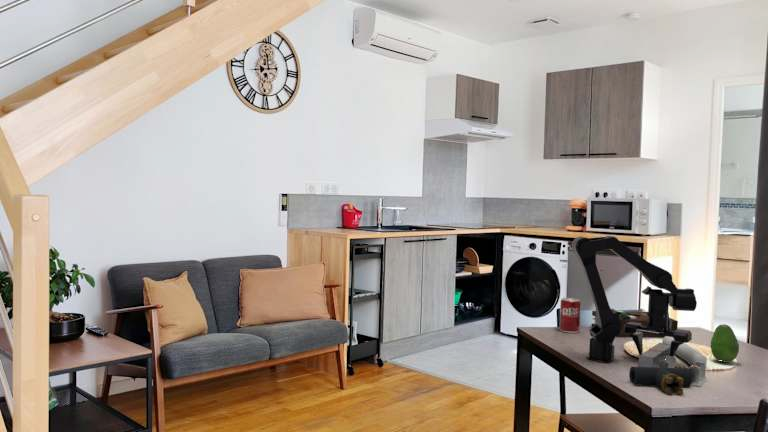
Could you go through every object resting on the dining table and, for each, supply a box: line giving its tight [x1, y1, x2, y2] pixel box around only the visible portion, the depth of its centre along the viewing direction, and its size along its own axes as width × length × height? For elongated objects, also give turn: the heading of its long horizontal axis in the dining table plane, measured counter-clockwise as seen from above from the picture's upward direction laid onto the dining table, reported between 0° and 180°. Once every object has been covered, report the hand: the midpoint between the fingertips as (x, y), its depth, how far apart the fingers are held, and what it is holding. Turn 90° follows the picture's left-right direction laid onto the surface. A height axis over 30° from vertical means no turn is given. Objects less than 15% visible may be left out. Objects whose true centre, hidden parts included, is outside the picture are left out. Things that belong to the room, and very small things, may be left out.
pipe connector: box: [628, 366, 692, 395], centre depth 167 cm, size 12×5×15 cm
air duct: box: [637, 342, 671, 367], centre depth 193 cm, size 22×4×4 cm, turn 141°
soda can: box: [559, 297, 582, 334], centre depth 234 cm, size 7×7×12 cm
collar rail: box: [659, 356, 707, 387], centre depth 176 cm, size 11×8×5 cm
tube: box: [662, 336, 708, 366], centre depth 199 cm, size 5×5×25 cm
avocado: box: [710, 324, 740, 362], centre depth 196 cm, size 8×8×12 cm
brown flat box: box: [590, 310, 679, 339], centre depth 236 cm, size 19×8×30 cm
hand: (655, 359), depth 193 cm, fingers open, 8 cm apart
